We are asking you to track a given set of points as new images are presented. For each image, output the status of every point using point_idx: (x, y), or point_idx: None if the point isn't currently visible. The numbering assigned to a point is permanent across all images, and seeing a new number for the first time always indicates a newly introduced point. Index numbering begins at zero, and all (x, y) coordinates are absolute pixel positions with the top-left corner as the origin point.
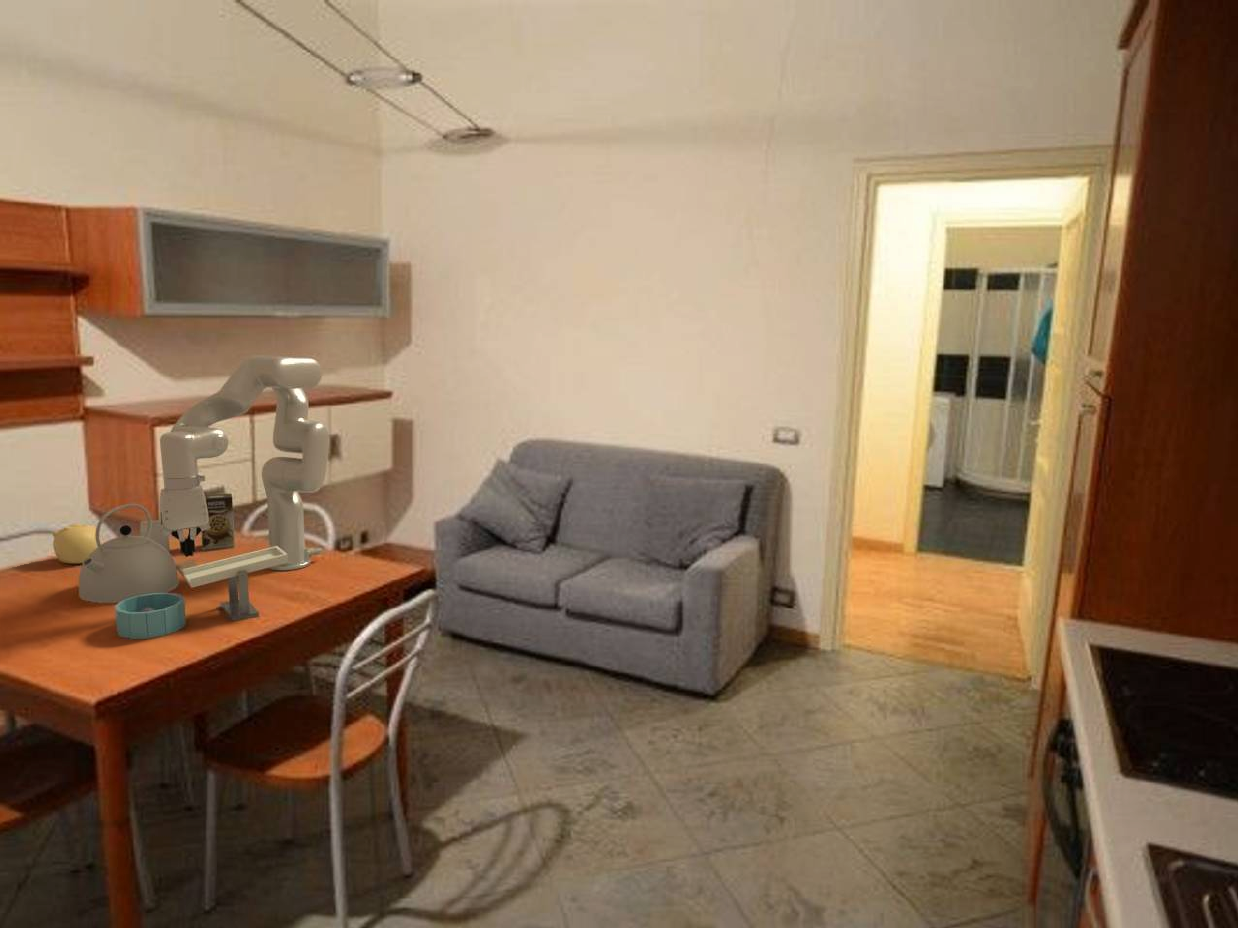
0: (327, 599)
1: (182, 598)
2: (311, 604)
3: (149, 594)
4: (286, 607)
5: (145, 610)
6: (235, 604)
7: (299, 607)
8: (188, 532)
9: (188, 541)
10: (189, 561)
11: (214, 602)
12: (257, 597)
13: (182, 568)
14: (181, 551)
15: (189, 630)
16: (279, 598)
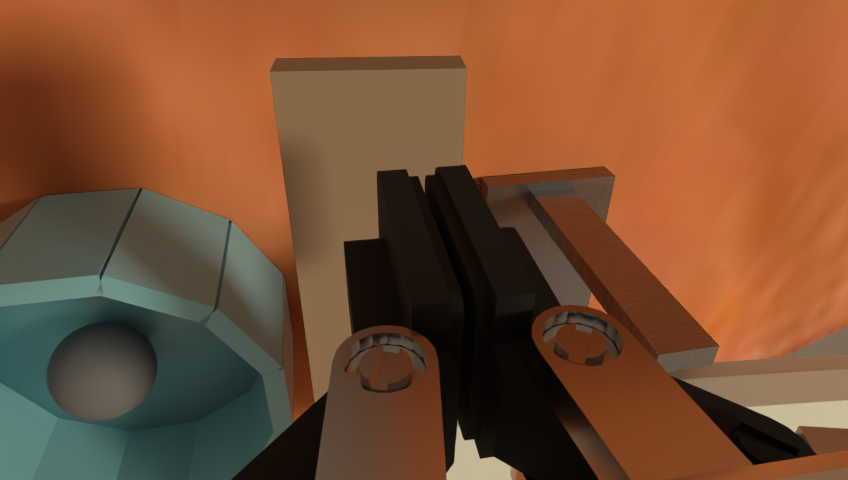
0: (842, 282)
1: (286, 418)
2: (769, 310)
3: (72, 291)
4: (689, 305)
5: (86, 417)
6: (538, 246)
7: (721, 323)
8: (566, 407)
9: (466, 437)
10: (421, 107)
11: (475, 91)
12: (677, 122)
13: (324, 275)
14: (348, 297)
15: (299, 401)
16: (736, 188)
